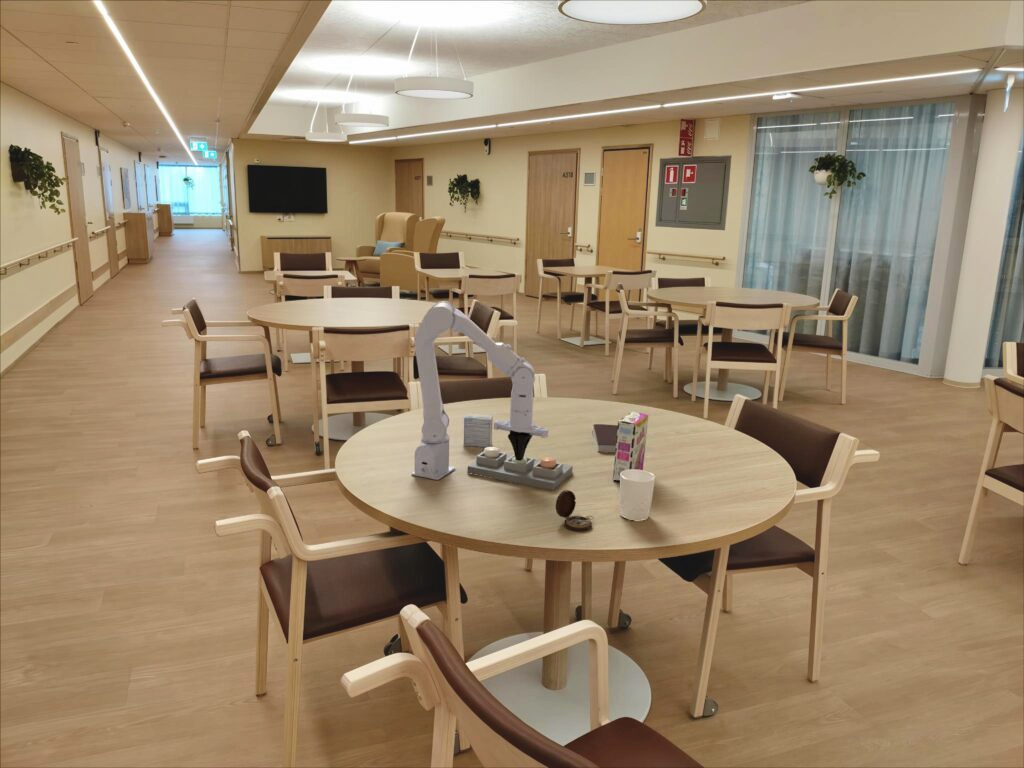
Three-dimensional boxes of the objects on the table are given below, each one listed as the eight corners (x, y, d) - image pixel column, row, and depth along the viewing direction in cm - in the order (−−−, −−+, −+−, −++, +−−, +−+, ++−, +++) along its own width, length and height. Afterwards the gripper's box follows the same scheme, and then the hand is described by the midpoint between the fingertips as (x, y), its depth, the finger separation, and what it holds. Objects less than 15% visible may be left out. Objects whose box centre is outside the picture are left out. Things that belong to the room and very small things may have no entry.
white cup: (647, 509, 178) (651, 469, 175) (654, 523, 170) (658, 482, 167) (614, 508, 177) (617, 468, 175) (620, 522, 170) (623, 481, 167)
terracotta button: (552, 470, 190) (552, 463, 190) (537, 468, 192) (538, 460, 191) (557, 466, 194) (558, 458, 193) (543, 463, 195) (543, 456, 195)
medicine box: (492, 443, 220) (493, 415, 218) (490, 448, 216) (491, 419, 214) (465, 441, 221) (466, 413, 219) (463, 446, 217) (463, 417, 215)
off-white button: (495, 460, 196) (495, 452, 196) (481, 457, 198) (481, 450, 197) (501, 455, 200) (501, 448, 199) (488, 453, 201) (488, 445, 201)
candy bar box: (630, 485, 192) (635, 424, 188) (612, 481, 194) (616, 420, 190) (644, 472, 202) (649, 413, 198) (626, 468, 204) (631, 410, 200)
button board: (553, 490, 186) (554, 475, 186) (467, 473, 196) (467, 458, 195) (572, 473, 199) (573, 458, 198) (490, 457, 208) (491, 443, 207)
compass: (580, 535, 163) (582, 503, 161) (553, 523, 168) (554, 492, 166) (603, 524, 168) (605, 494, 167) (576, 513, 174) (577, 484, 172)
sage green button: (523, 470, 193) (523, 462, 193) (508, 467, 195) (509, 460, 194) (529, 465, 197) (529, 458, 196) (515, 462, 198) (515, 455, 198)
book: (632, 435, 235) (632, 425, 234) (640, 455, 216) (641, 445, 215) (592, 433, 235) (592, 423, 234) (596, 453, 216) (597, 443, 216)
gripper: (553, 409, 193) (550, 459, 196) (502, 401, 199) (500, 450, 202) (543, 416, 187) (540, 467, 190) (490, 408, 192) (489, 458, 196)
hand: (519, 459), depth 195 cm, fingers closed, pressing on sage green button
